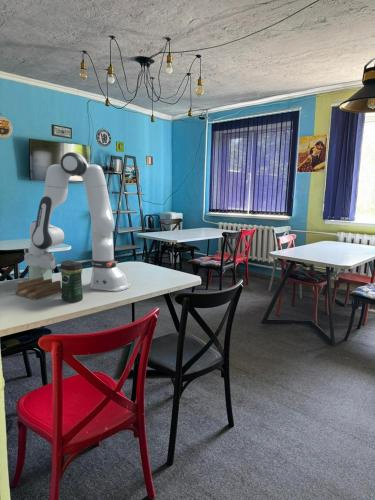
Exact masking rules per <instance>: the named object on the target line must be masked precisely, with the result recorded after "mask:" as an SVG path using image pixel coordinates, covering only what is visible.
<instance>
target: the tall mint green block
mask: <svg viewBox="0 0 375 500" xmlns="http://www.w3.org/2000/svg"><path fill="white" fill-rule="evenodd" d="M52 271H53V269H52V270H48V269H47V271H46V276H41V273H42V272H43V270H42V268H39V266H37V265H34V266H28V278H29V279H28V280H32V279H36V278H40V277H44V280H47V279H52V280H53V275H52V274H53V272H52Z"/></svg>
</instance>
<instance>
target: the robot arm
mask: <svg viewBox="0 0 375 500" xmlns="http://www.w3.org/2000/svg"><path fill="white" fill-rule="evenodd" d="M59 161H60V163H59V164H58V163H57V164H56V163H55V164H52V165H49V166H48V168H47V170H46V173H45V181H44V182H45V183H44V190H43V194H42V198H41V200H40V201H39V205H38V209H37V216H36V220H34V221H31V223H30V225H29V239H30V245H29V247H26V248H24V249H23V252H24V263H25V266H28V267H29V266H34V265H37V266H39V268H42V270H43V272H42V273H41V276H46V271H47V269H48V270H52V271H53V270H55V268H56V259H55V256H54V253H52V252H51V251H49V248H52V247H55V246H58V245H60V244H63V242H64V241H65V238H66V236H65V235H66V234H65V232H64V230H63V229H62V228H60V227H57V226H55V225H52V224H50V223H51V218H52V213H53V212H54V210H55V209H56V208H57V207H59V206H60V205H62V204H63V203H64V202H65V201H66V200H67V197H68V193H69V181H70V178H71V177H74V176H77V177H81V178H82V182H83V184H84V190H85V195H86V201H87V206H88V210H89V214H90V219H91V221H90V223H91V225H90V226H91V245H92V247H91V249H92V254H91V255H92V259H91V267H92V269H91V278H90V279H91V280H90V284H89V286H90V288H89V289H92V290H93V289H94V290H99V291H105V292H106V291H109V292H120V291H123V290H127V289H129V288H131V287H132V284H131V283H129V282H128V280H127V276H126V275H125V273H124V272H123V271H122V270H120V268H119V267H117V264H118V262H119V261H116V260H115V258H114V257H115V256H114V236H113V231H114V229H115V224H116V223H115V219H114V213H113V210H112V206H111V205H112V204H111V201H110V197H109V191H108V186H107V185H108V184H107V181H106V177H105V173H104V170H103V168H102V166H101V165H98V164H95V163H94V164H89V162H88V160H87V158H86V157H85V156H84V155H82V154H80V153H78V152H73V151H72V152H71V151H70V152H67V153H64V154H63V155H61V158H60V160H59ZM48 251H49V252H48Z"/></svg>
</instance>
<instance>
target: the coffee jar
mask: <svg viewBox="0 0 375 500" xmlns="http://www.w3.org/2000/svg"><path fill="white" fill-rule="evenodd" d="M82 272H83V264H82V263H81V262H79V261H74V260H64V261H62V262H60V273H61V275H60V276H61V288H62V292H60V293H61V300H62V301H66V302H67V303H68V302H69V303H73V302H74V303H75V302H76V303H77V302H78V303H79V302H80V301H81V300H83V298H84V294H83V293H84V292H83V283H82Z"/></svg>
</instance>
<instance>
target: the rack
mask: <svg viewBox="0 0 375 500" xmlns="http://www.w3.org/2000/svg"><path fill="white" fill-rule="evenodd" d="M59 293H62V280H56V281H53V278H52V279H47V280H44V277H40V278H36V279H32V280H29V279H28V280H23V281H20V282H17V290H15V293H14V294H15V295H18V296H20V297H24V298H25V297H26V298H30V299H33V300H35V301H36V300H40V299H43V298H47V297H50V296H52V295H55V294H56V295H57V294H59Z"/></svg>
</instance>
